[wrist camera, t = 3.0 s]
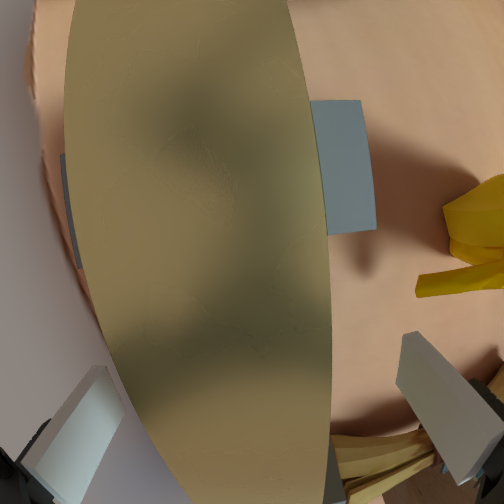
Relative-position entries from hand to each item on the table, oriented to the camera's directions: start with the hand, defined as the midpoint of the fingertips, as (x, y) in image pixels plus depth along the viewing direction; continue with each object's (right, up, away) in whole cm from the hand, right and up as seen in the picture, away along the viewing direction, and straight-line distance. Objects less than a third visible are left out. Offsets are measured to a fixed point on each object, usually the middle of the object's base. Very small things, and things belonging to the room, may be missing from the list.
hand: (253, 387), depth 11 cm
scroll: (+20, -13, +13) cm, 27 cm away
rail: (0, 0, 0) cm, 0 cm away
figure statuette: (+18, +9, +8) cm, 22 cm away
